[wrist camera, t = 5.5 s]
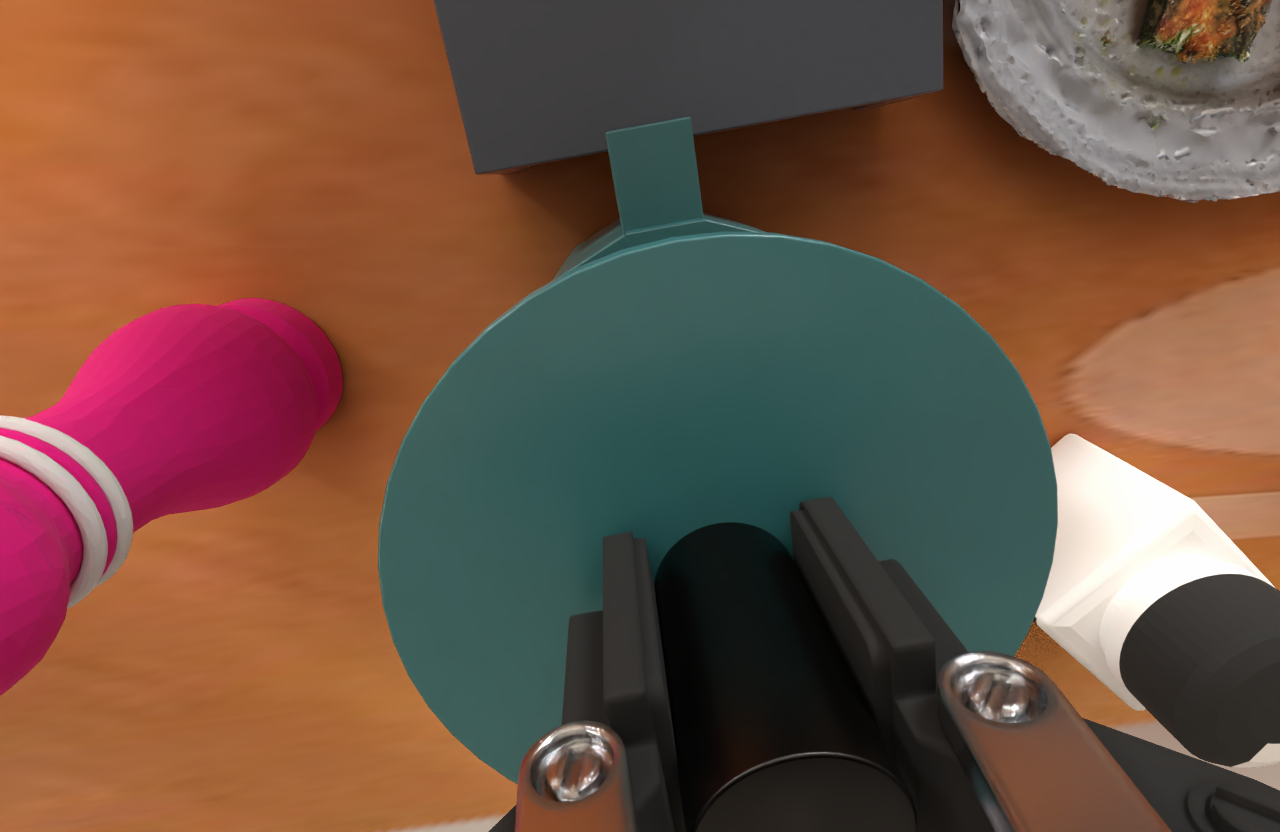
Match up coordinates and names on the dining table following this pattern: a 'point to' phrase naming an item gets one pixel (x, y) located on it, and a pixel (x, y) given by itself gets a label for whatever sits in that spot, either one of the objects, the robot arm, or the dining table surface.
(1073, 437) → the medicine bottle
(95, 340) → the dining table surface
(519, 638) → the lid
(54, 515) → the pepper mill
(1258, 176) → the food plate
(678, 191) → the pot
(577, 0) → the grey stepped block
